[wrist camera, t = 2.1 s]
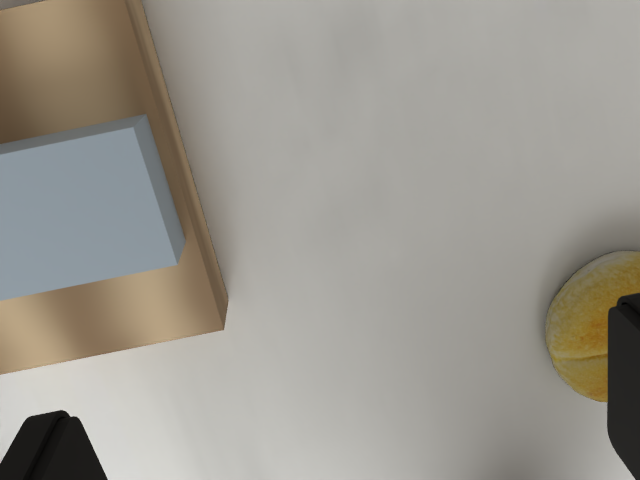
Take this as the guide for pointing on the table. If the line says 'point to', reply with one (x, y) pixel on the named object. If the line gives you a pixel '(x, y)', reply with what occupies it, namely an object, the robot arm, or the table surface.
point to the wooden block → (84, 110)
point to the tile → (84, 208)
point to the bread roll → (589, 320)
